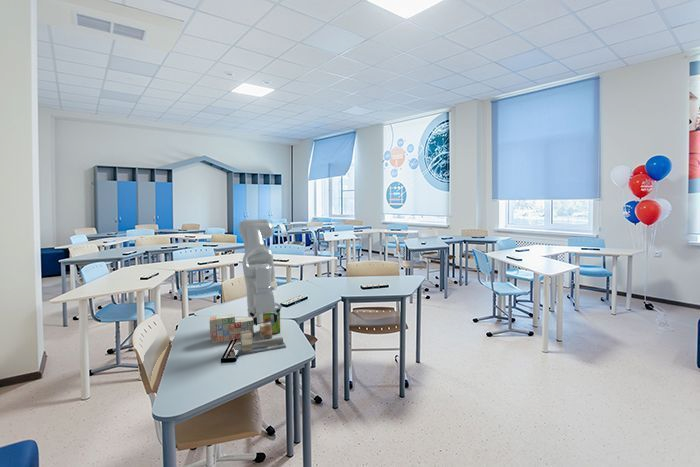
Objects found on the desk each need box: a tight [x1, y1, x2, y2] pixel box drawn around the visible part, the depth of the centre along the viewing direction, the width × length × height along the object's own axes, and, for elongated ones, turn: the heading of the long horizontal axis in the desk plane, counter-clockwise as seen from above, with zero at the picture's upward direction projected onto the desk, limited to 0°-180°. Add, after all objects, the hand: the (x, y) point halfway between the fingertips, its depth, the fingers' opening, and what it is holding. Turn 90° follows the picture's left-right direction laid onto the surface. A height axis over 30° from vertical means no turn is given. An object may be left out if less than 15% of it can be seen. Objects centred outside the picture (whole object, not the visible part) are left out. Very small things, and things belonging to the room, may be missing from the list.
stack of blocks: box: [209, 313, 255, 344], centre depth 196 cm, size 21×6×12 cm, turn 108°
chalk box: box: [262, 307, 281, 335], centre depth 205 cm, size 9×9×15 cm
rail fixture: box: [233, 330, 287, 357], centre depth 182 cm, size 9×24×9 cm, turn 112°
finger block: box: [259, 322, 273, 341], centre depth 193 cm, size 5×5×8 cm
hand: (265, 323), depth 192 cm, fingers open, 9 cm apart
